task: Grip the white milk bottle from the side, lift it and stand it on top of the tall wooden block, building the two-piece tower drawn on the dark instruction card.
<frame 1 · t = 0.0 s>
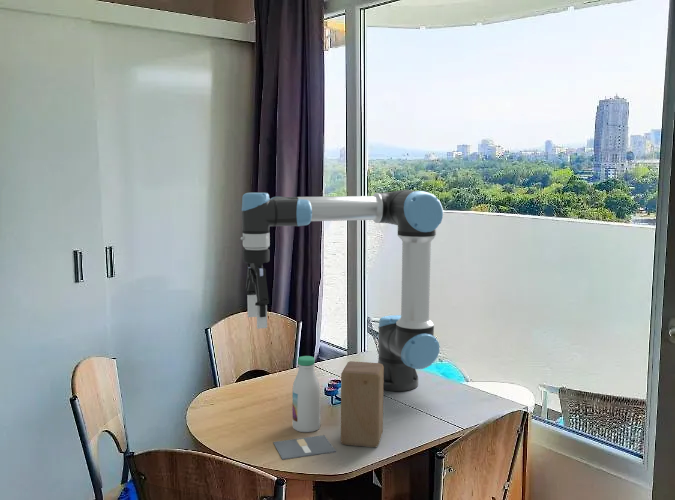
hand: (257, 322, 180), 28 cm above the table, tool pointing down, fingers open, 13 cm apart
wooden block: (362, 440, 169), on the table
milk bottle: (306, 428, 176), on the table
instruction card: (304, 447, 164), on the table
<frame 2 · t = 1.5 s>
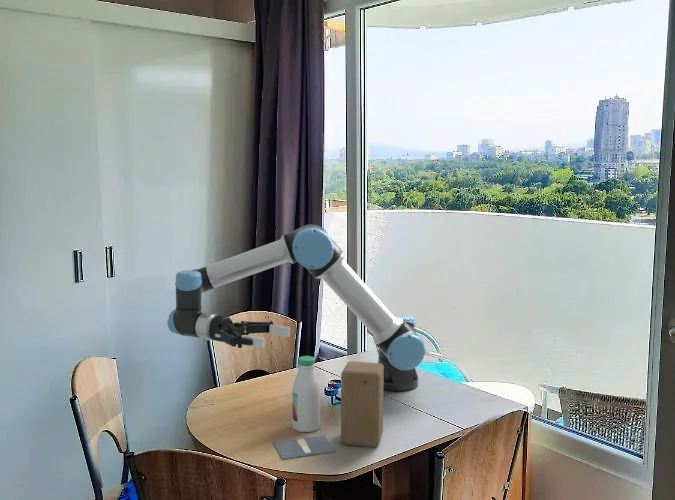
hand: (277, 337, 177), 24 cm above the table, tool horizontal, fingers open, 13 cm apart
nothing on the table moved.
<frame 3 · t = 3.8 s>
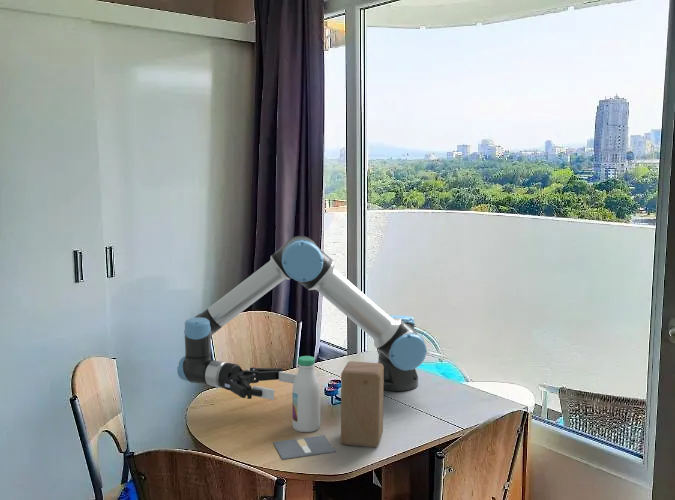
hand: (286, 386, 177), 11 cm above the table, tool horizontal, fingers open, 13 cm apart
nothing on the table moved.
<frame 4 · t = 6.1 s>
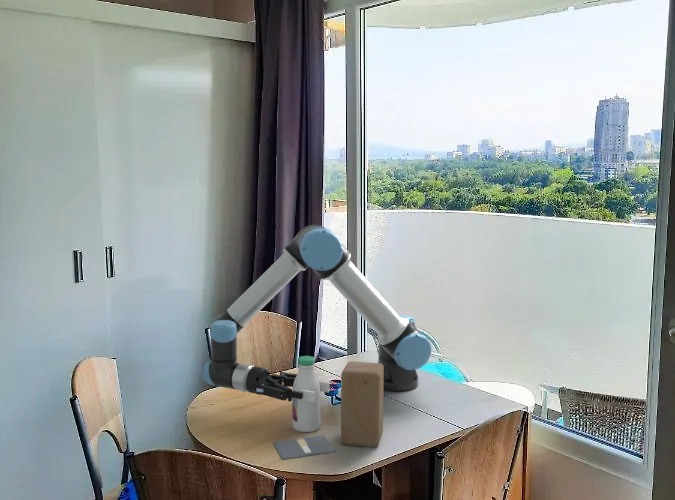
hand: (321, 392, 173), 11 cm above the table, tool horizontal, fingers closed on milk bottle, 8 cm apart
milk bottle: (306, 428, 176), on the table, touching gripper
everything else where it was.
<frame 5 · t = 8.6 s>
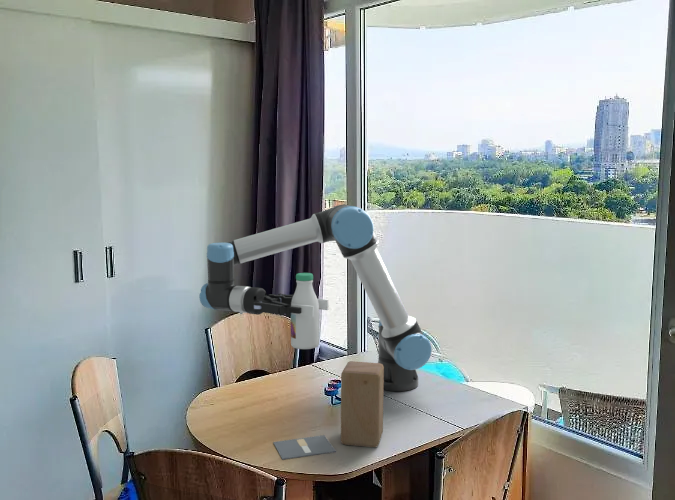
hand: (320, 308, 170), 34 cm above the table, tool horizontal, fingers closed on milk bottle, 8 cm apart
milk bottle: (305, 346, 173), point 23 cm above the table, touching gripper
everything else where it was.
when the fingers open (33 cm above the table, at t = 11.4 s): milk bottle drops 2 cm, resting on wooden block.
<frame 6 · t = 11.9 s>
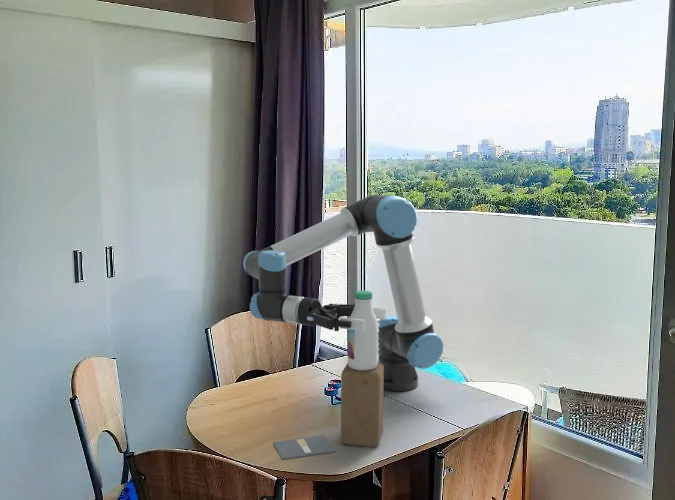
hand: (375, 319, 163), 33 cm above the table, tool horizontal, fingers open, 13 cm apart
wooden block: (362, 440, 169), on the table, touching milk bottle
milk bottle: (362, 367, 166), point 20 cm above the table, touching wooden block
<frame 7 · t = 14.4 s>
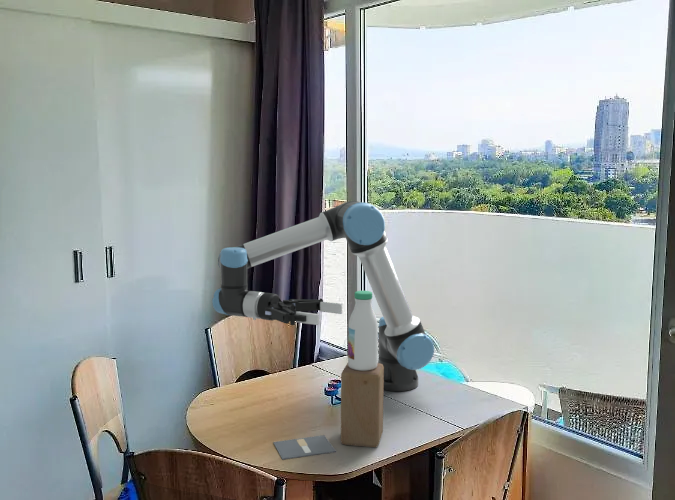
hand: (330, 314, 169), 33 cm above the table, tool horizontal, fingers open, 13 cm apart
nothing on the table moved.
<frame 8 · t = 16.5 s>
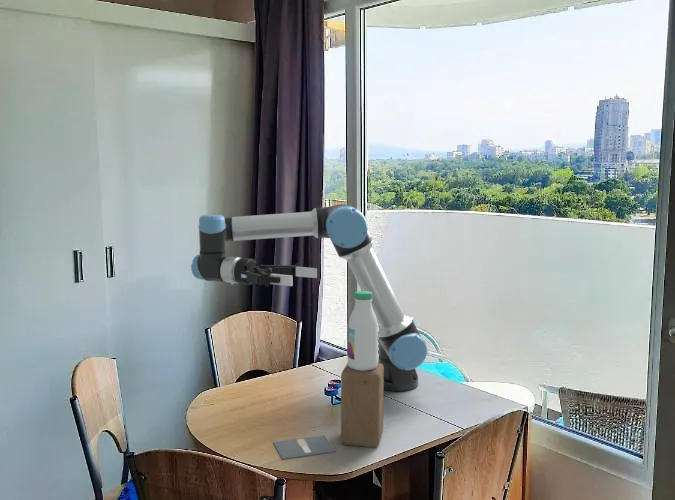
hand: (304, 276, 173), 42 cm above the table, tool horizontal, fingers open, 13 cm apart
nothing on the table moved.
at the end: milk bottle inside the target area on the wooden block (0.1 cm from its centre), point 20.0 cm above the wooden block's base; milk bottle tilted 0°; the gripper is holding nothing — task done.
